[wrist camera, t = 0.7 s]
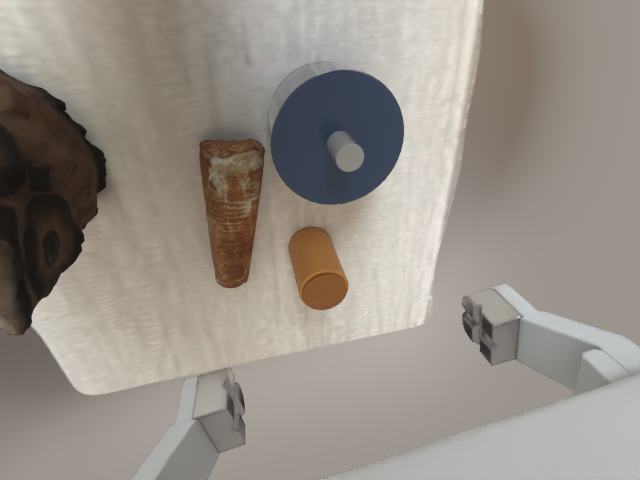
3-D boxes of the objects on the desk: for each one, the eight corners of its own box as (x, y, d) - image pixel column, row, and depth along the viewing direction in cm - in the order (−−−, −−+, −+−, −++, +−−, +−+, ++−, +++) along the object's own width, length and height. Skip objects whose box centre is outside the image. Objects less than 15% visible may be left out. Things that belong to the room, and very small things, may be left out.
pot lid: (258, 78, 30) (262, 90, 26) (401, 58, 31) (426, 66, 27) (281, 209, 36) (287, 234, 33) (397, 187, 38) (416, 209, 34)
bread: (263, 132, 39) (268, 150, 34) (251, 274, 49) (253, 303, 44) (201, 125, 37) (197, 143, 33) (201, 274, 47) (198, 304, 42)
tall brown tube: (285, 231, 46) (297, 279, 38) (328, 223, 47) (348, 268, 39) (291, 266, 49) (303, 316, 42) (332, 258, 50) (350, 306, 42)
